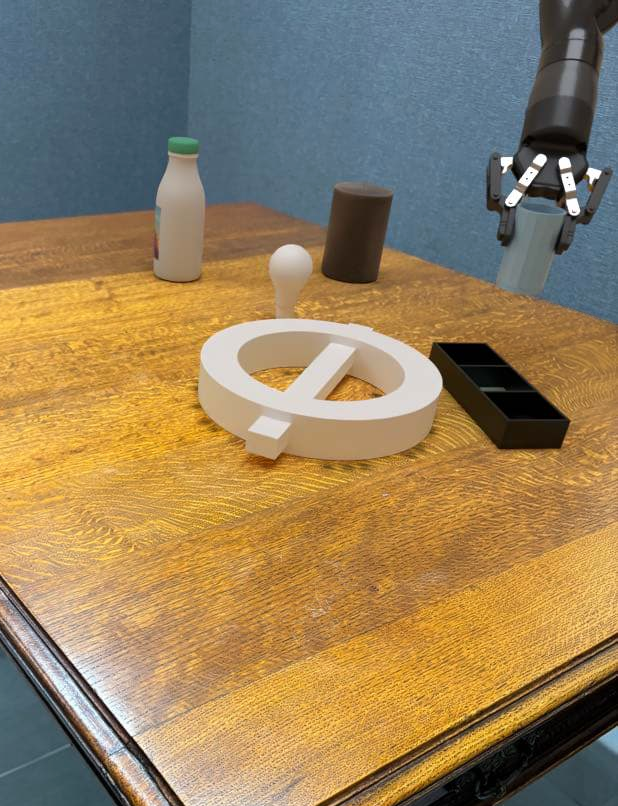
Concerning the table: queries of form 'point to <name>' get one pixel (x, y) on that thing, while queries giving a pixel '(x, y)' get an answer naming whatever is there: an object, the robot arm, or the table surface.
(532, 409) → the rack
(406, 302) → the table surface
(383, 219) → the pillar candle
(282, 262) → the lightbulb
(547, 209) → the cup
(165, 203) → the milk bottle
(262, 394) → the ring with crossbar
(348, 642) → the table surface
